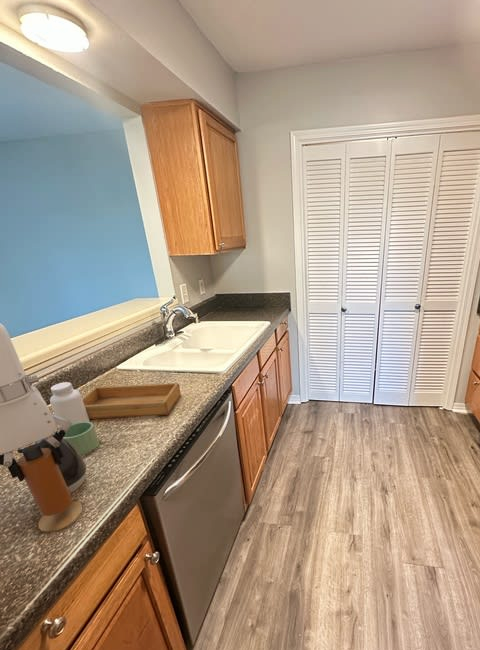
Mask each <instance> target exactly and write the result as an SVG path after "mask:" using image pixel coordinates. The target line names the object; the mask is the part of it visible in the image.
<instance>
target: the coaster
mask: <svg viewBox="0 0 480 650" xmlns="http://www.w3.org/2000/svg"><path fill="white" fill-rule="evenodd" d="M82 512H83V505H82V503H81V502H79V501H77V500H72V502H71V504H70V505H69V506H68V507H67V508H66V509H65V510H63V511H61V512H60V513H57V514H55V515H51V516H44V515H42V516H41V517H40V518H39V520H38V524H37V527H38V529H39V531H41V532H43V533H53V532H57V531H61V530H62V529H64V528H67V527H68V526H70V525H72V524H73V523H74V522H75V521H76V520H77V519H78V518H79V517H80V516H81V514H82Z"/></svg>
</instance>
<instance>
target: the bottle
mask: <svg viewBox="0 0 480 650" xmlns="http://www.w3.org/2000/svg"><path fill="white" fill-rule="evenodd" d="M23 448H24V449H23V450H22V453H21V454H22V456H20V457H19V458H18V459H17V460H16V462H17V465H18V467H19V469H20V471H21V473H22V475H23V477H24V481H25V483H26V485H27V487H28V489H29V492H30V493H31V495H32V497H33V499H34V502H35V503H36V506H37V507H38V509H39V511H40V513H41V515H42V516H43V515H44V516H51V515H55V514H57V513H60V512H61V511H63V510H65V509H66V508H67V507H68V506H69V505H70V504H71V502H72V501H73V496H72V493H70V492H69V489H68V487H67V485H66V483H65V480H64V478H63V476H62V473H61V471H60V469H59V466H58V464H57V462H56V460H55V458H54V455H53V453H52V451H51V449H49V448H40V445H39V444H35V443H32V444H29V445H27V446H25V447H23Z"/></svg>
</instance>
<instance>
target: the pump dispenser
mask: <svg viewBox="0 0 480 650" xmlns="http://www.w3.org/2000/svg"><path fill="white" fill-rule="evenodd" d="M53 435H54V434H53ZM34 444H39V445H40V448H49V449H50V447H49V445H50V444H49V442H47V441H46V440H45V439H42V440H40V441H37V442H34ZM59 447H60V449H61V452H62V454H63V456H64V457H62V458H60V460H61V462H62V464H60V465H59V464H58V466H59V469H60V471H61V473H62V476H63V478H64V480H65V483H66V485H67V487H68V489H69V492H70V494H72V493H74V492H75V491H77V490H78V489H79V488H80V487H81V486H82V484H84V481H85V479H86V476H87V464H86V463H85V461H84V459H83V458H82V455H80V454H79V453H78V452H77V450H76V449H75V448H74V447H73V446H72V445H71V444H70V443H69V442H67V441H66V440H65V439H62V441H61V442H60V446H59ZM24 448H25V447H21V448H19V449H16V451H17V454H23V453H22V450H23V449H24Z"/></svg>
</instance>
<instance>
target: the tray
mask: <svg viewBox="0 0 480 650" xmlns="http://www.w3.org/2000/svg"><path fill="white" fill-rule="evenodd" d="M181 395H182V394H181V387H180V383H179V382H172V383H171V382H169V383H152V384H151V383H150V384H149V383H148V384H132V385H131V384H130V385H129V384H127V385H114V386H113V385H112V386H94V387H93V388H92V389H90V390H89V392H87V393H86V394H84V396H81V397H82V400H83V403H84V406H85V409H86V412H87V414H88V417H89V420H99V419H100V420H101V419H115V418H116V419H117V418H136V417H154V416H168V415H169V414H170V412H171V411H172V409H173V407H174V406H175V404H176V403H177V401H178V400H179V398H180V396H181Z"/></svg>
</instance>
